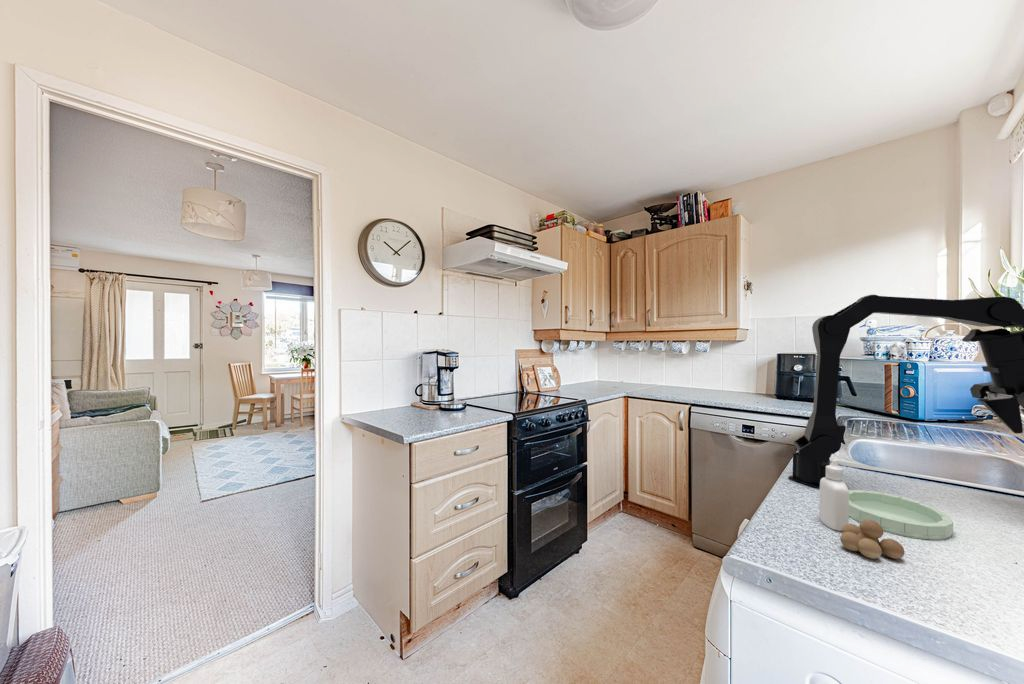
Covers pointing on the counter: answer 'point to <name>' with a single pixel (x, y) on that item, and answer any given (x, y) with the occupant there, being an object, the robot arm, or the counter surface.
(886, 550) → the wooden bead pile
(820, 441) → the robot arm
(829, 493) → the eye dropper bottle
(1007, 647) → the counter surface
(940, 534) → the sage dish
